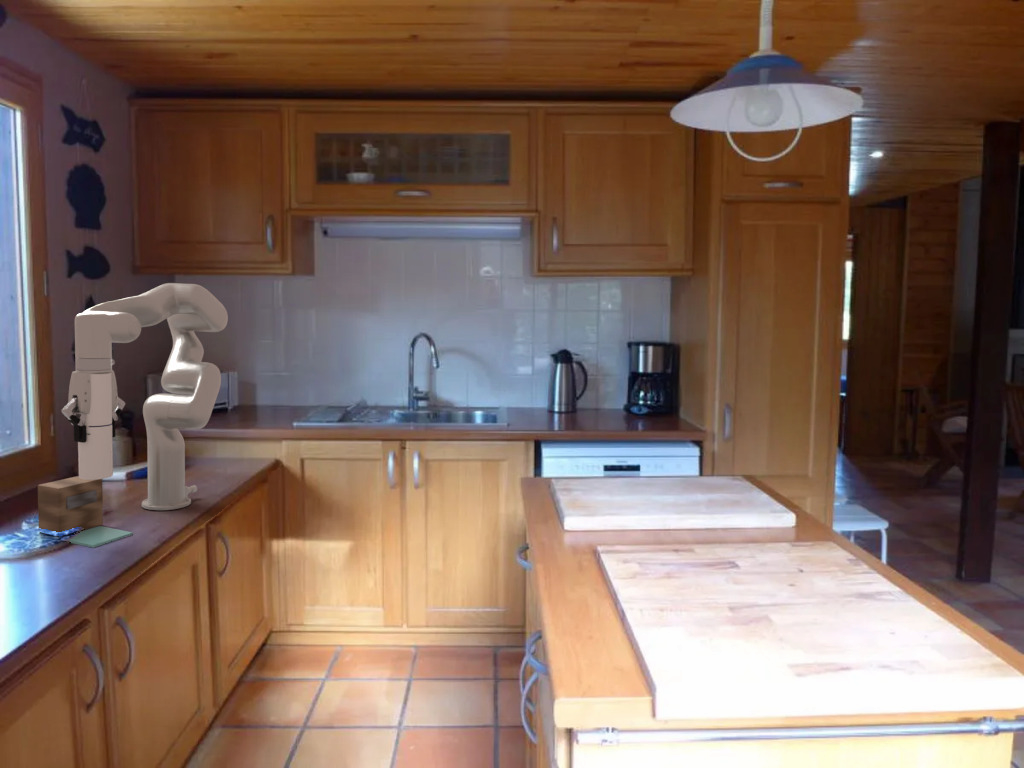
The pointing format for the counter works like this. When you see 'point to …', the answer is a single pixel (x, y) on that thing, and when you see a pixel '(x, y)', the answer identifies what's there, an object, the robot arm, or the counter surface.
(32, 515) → the counter surface
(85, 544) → the teal pad
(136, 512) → the counter surface
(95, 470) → the cylindrical container
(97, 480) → the walnut housing
